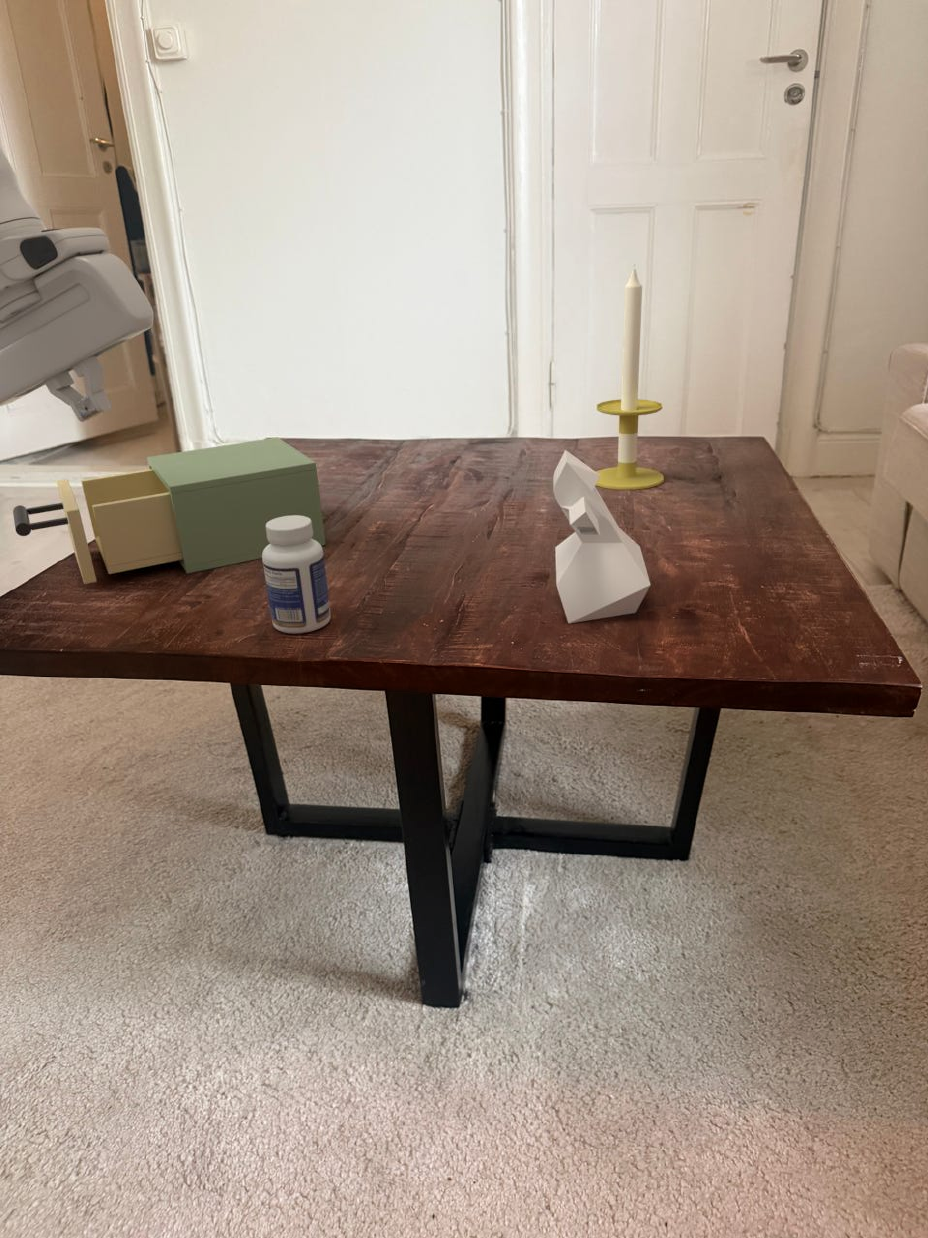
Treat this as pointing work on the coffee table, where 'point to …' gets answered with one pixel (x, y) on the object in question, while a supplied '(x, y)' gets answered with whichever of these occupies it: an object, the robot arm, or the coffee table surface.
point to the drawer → (115, 521)
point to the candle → (629, 403)
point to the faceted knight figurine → (594, 551)
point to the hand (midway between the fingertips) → (96, 415)
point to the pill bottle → (295, 576)
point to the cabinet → (236, 498)
